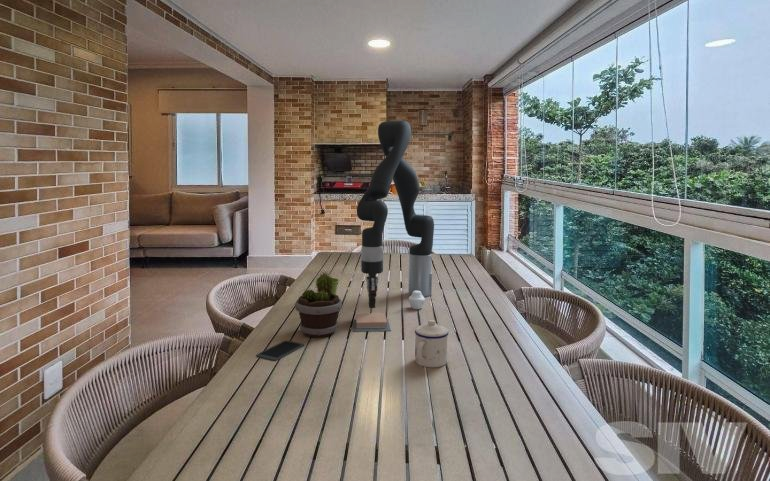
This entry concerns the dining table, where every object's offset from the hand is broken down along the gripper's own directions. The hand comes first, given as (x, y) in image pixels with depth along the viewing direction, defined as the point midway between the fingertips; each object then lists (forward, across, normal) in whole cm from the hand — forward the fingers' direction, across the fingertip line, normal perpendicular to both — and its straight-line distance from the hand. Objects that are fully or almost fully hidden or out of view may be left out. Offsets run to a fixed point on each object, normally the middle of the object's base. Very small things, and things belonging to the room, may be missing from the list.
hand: (372, 307), depth 170 cm
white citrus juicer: (+5, +12, -18) cm, 22 cm away
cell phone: (+4, -28, +28) cm, 40 cm away
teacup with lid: (+4, -40, -13) cm, 42 cm away
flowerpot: (+4, -14, +18) cm, 23 cm away
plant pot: (+4, +22, +16) cm, 28 cm away
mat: (+4, -7, +1) cm, 8 cm away
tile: (+3, -1, +1) cm, 3 cm away
